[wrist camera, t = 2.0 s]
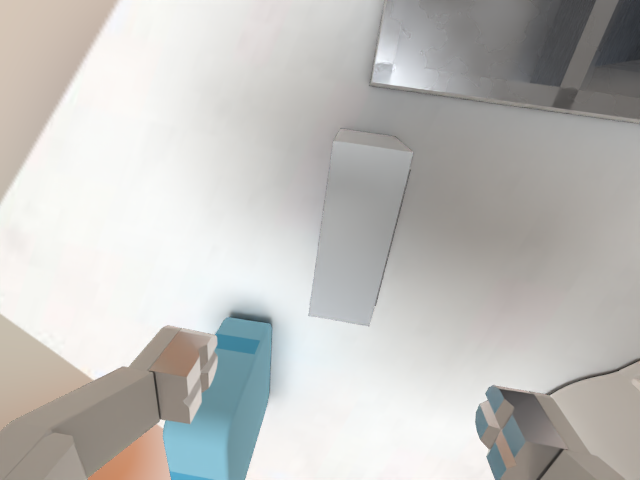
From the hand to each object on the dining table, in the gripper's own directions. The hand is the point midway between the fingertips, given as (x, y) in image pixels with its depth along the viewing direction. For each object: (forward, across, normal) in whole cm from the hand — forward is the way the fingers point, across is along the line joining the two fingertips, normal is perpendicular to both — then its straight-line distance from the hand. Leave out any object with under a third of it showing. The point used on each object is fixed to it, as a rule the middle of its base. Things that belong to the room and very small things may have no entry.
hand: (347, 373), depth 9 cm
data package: (+17, +8, +19) cm, 27 cm away
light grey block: (+17, 0, 0) cm, 17 cm away
